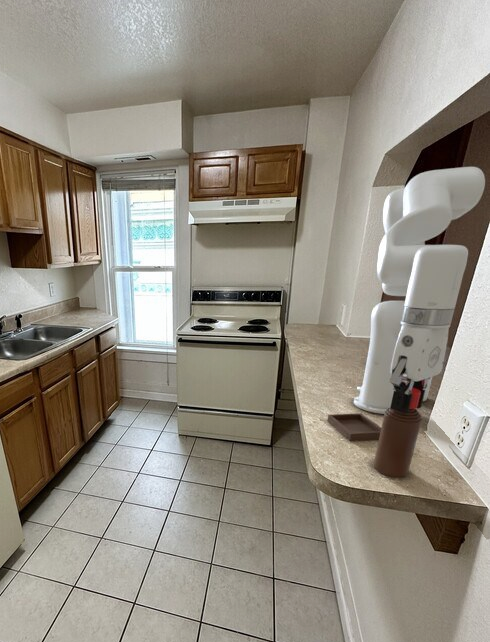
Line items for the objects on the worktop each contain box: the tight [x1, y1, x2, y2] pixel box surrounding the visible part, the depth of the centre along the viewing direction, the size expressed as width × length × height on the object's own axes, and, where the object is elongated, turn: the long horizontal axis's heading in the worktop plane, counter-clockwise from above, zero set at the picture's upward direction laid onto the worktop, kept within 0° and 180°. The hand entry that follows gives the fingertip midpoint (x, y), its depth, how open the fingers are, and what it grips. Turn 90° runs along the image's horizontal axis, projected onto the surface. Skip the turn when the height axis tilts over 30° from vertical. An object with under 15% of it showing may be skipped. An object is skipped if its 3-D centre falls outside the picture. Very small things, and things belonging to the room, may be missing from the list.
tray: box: [326, 412, 382, 442], centre depth 94 cm, size 11×9×2 cm
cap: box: [409, 388, 421, 409], centre depth 70 cm, size 4×4×3 cm
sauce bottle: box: [373, 408, 423, 479], centre depth 73 cm, size 6×6×18 cm
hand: (405, 407), depth 71 cm, fingers closed on cap, 3 cm apart
